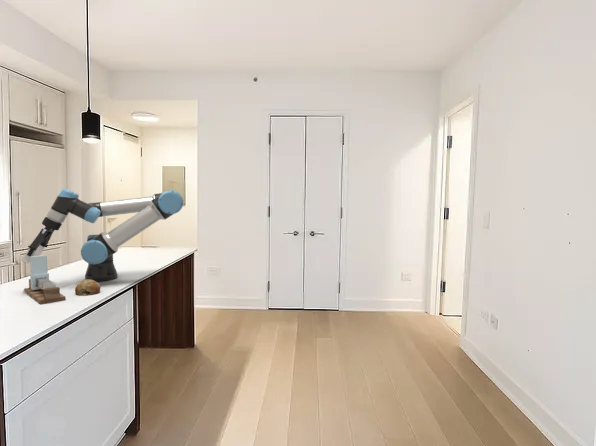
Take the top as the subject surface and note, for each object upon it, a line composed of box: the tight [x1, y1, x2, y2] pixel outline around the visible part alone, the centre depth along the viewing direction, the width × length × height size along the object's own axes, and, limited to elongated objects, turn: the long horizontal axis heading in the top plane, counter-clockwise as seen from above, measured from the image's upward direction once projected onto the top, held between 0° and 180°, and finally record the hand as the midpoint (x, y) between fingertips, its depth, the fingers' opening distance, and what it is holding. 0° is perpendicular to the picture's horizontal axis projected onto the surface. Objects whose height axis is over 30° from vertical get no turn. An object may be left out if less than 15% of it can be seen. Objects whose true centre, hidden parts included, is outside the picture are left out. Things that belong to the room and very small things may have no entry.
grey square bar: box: [35, 277, 57, 290], centre depth 171 cm, size 25×3×3 cm, turn 46°
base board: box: [23, 278, 66, 305], centre depth 172 cm, size 28×9×6 cm, turn 46°
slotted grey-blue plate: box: [29, 254, 50, 290], centre depth 175 cm, size 3×6×14 cm, turn 136°
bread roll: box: [74, 279, 101, 297], centre depth 177 cm, size 10×10×8 cm
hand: (29, 260), depth 183 cm, fingers open, 13 cm apart
